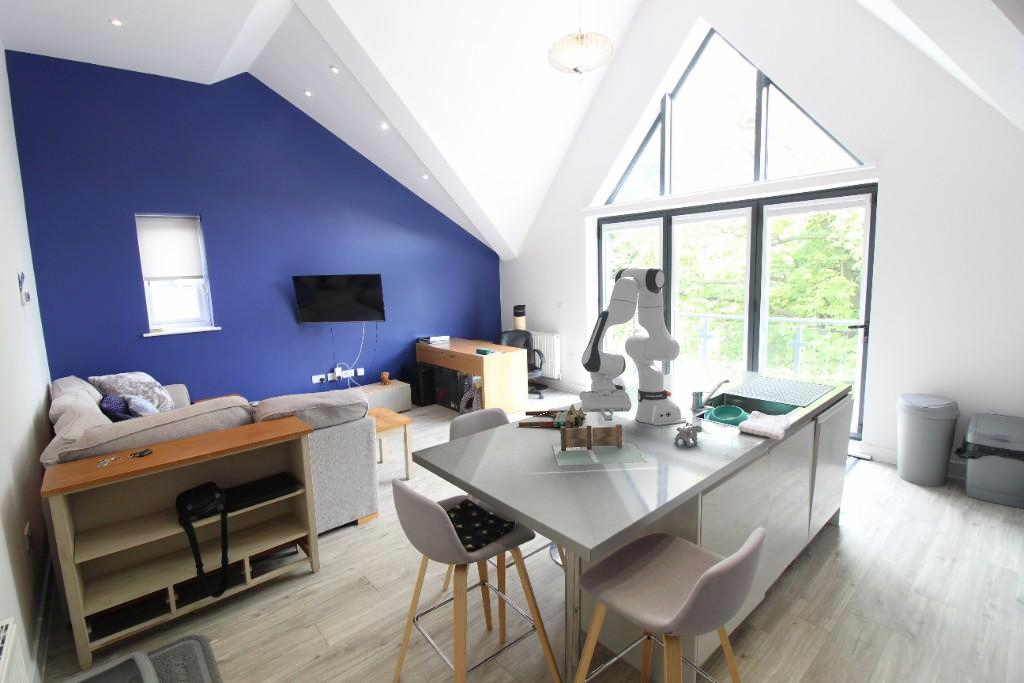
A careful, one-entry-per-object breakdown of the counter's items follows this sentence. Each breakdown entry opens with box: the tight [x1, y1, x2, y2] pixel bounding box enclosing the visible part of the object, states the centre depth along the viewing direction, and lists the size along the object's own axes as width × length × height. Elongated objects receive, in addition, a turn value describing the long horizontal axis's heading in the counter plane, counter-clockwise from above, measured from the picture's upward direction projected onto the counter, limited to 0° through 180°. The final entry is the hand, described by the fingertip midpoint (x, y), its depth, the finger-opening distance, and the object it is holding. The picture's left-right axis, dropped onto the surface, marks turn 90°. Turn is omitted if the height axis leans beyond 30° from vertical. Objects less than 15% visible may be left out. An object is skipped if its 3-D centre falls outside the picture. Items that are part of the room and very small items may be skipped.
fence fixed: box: [560, 425, 593, 451], centre depth 187 cm, size 12×2×9 cm, turn 92°
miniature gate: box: [518, 403, 588, 429], centre depth 226 cm, size 27×6×30 cm
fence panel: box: [592, 423, 623, 448], centre depth 187 cm, size 11×2×9 cm, turn 92°
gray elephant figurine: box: [674, 421, 703, 448], centre depth 193 cm, size 9×12×8 cm
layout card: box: [554, 442, 648, 467], centre depth 183 cm, size 32×20×1 cm, turn 92°
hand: (608, 420), depth 194 cm, fingers closed
